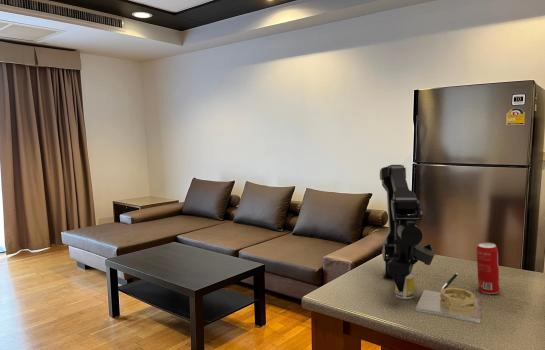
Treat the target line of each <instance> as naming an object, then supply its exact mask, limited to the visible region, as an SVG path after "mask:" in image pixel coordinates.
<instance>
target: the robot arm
mask: <svg viewBox="0 0 545 350" xmlns="http://www.w3.org/2000/svg"><path fill="white" fill-rule="evenodd" d="M380 180H381V186H382V188H383V189H384V190H385V192H386V199H387V215H388V216H387V218H388V219H387V221H388V234H387V235H386V237H385V239H384V243H383V245H382V249H381V255H382V259H383V262H385V264H384V265H385V269H384V270H385V274H384V276H383V278H384V279H389V280H393V281H394V285H395V284H396V286H397V288H398V290H399V292H403V289H404V284H405V279H406V276H408V275H409V274H410V273H411V272H412V271H413V268H414V265H415V264H417V263H418V262H419V261H420V262H422V263H423V264H424V265H426V266H430V265H431V264H432V262H433V259H434V258H435V255H436V251H435V250H433V249H434V248H433V245H432V244H430V243H426V244H425V245H419V244H420V243H421V242H422V240H423V233H422V230H421V229H420V228H419V227H418V226H417V222H421V221H422V217H423V211H422V205H421V203H420V200H419V199H418V198H417V195H416V194H415V192H414V191H412V190H410V188H409V185H408V182H407V169H406V167H405V166H404V165H403V164H389V165H387V166H383V167H381V169H380V171H379V181H380ZM412 273H413V272H412Z"/></svg>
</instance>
